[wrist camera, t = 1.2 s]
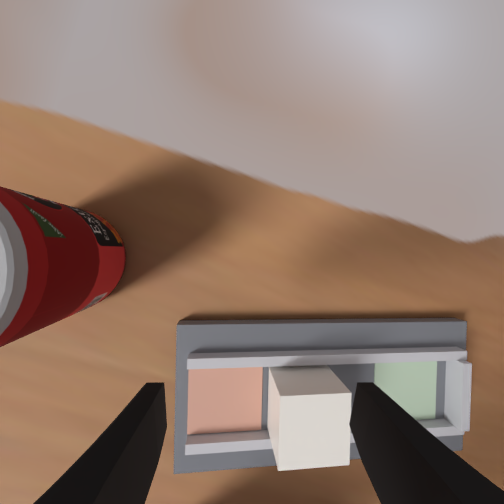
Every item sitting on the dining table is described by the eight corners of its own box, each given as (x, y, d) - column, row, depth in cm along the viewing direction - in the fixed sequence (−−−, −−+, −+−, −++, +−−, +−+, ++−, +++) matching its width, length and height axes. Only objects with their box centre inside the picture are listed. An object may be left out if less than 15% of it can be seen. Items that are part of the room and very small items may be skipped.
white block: (325, 423, 21) (349, 464, 17) (267, 426, 20) (278, 471, 16) (326, 364, 20) (351, 392, 17) (268, 366, 20) (280, 396, 16)
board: (450, 439, 24) (480, 465, 21) (176, 460, 21) (169, 494, 18) (454, 317, 23) (485, 327, 21) (179, 320, 20) (172, 331, 18)
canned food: (142, 227, 20) (43, 202, 9) (111, 320, 20) (-29, 408, 9) (45, 196, 19) (-194, 127, 8) (12, 293, 19) (-279, 354, 8)
